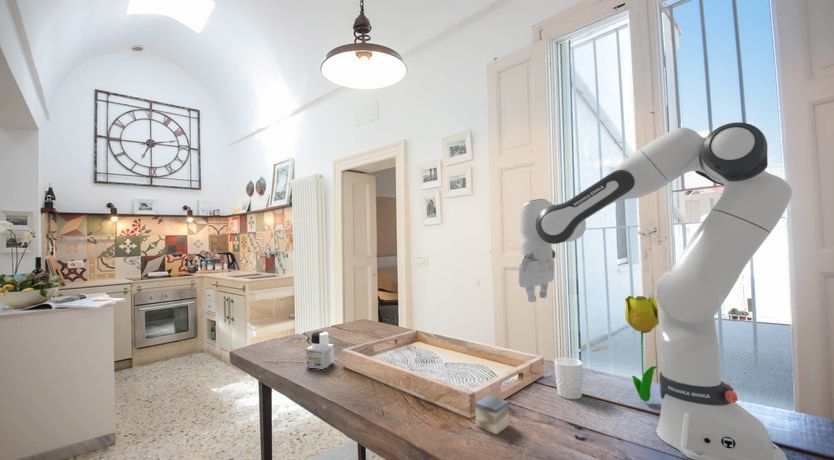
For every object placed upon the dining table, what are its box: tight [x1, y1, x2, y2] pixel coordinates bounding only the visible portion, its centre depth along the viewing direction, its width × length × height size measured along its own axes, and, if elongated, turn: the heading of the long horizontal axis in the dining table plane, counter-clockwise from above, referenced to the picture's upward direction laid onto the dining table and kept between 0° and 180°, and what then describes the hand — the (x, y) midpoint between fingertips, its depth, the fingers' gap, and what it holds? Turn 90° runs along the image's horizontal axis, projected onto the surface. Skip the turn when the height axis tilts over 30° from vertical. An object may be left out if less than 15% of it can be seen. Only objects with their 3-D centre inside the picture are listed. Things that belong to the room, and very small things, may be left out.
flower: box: [624, 295, 659, 403], centre depth 104 cm, size 9×8×30 cm
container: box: [305, 330, 335, 369], centre depth 142 cm, size 8×8×13 cm
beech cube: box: [474, 395, 510, 435], centre depth 93 cm, size 6×6×6 cm
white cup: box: [553, 356, 583, 400], centre depth 110 cm, size 8×8×10 cm
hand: (537, 299), depth 109 cm, fingers open, 8 cm apart
